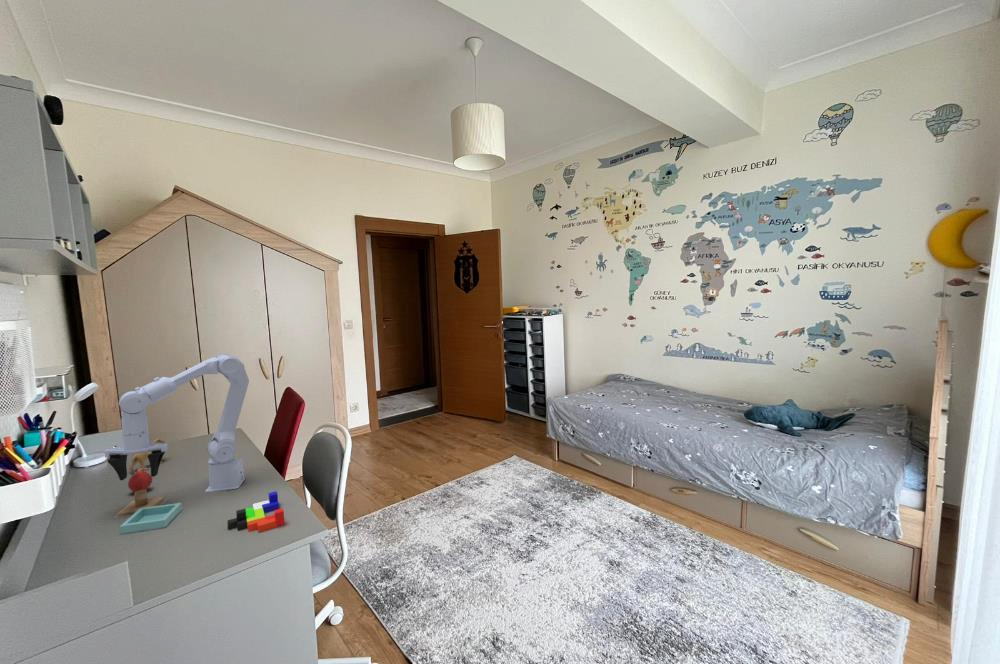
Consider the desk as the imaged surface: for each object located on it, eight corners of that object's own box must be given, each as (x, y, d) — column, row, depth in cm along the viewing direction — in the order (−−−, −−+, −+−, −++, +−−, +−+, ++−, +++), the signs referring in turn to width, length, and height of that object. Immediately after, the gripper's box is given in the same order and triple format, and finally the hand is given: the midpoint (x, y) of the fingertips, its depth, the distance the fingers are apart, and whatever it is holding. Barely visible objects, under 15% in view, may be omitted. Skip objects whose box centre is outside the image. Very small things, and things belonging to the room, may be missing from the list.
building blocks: (226, 517, 117) (225, 503, 117) (277, 504, 125) (276, 490, 124) (229, 542, 105) (227, 526, 105) (284, 526, 113) (284, 511, 112)
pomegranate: (138, 497, 129) (136, 473, 128) (124, 496, 130) (122, 472, 130) (157, 489, 135) (155, 466, 134) (143, 488, 136) (141, 464, 135)
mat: (169, 499, 128) (168, 498, 128) (154, 513, 119) (154, 512, 119) (130, 504, 125) (129, 503, 125) (112, 519, 116) (111, 518, 116)
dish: (182, 510, 121) (181, 502, 120) (165, 528, 111) (164, 520, 111) (140, 516, 118) (140, 508, 117) (120, 535, 108) (119, 526, 108)
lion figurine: (157, 459, 161) (155, 437, 160) (171, 459, 161) (169, 436, 160) (123, 475, 146) (121, 450, 146) (138, 474, 146) (136, 450, 146)
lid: (164, 499, 127) (163, 484, 126) (151, 512, 119) (149, 495, 119) (133, 503, 124) (131, 487, 124) (117, 516, 117) (115, 500, 116)
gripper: (171, 425, 126) (174, 468, 127) (113, 430, 122) (117, 474, 123) (159, 432, 119) (163, 477, 120) (98, 438, 115) (102, 484, 116)
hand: (139, 477), depth 121 cm, fingers open, 7 cm apart
